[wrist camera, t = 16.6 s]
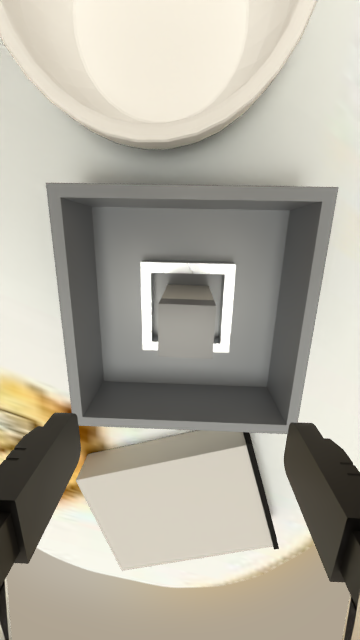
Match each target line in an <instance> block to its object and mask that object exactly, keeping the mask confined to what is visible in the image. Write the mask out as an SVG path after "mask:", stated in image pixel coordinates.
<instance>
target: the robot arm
mask: <svg viewBox="0 0 360 640" xmlns="http://www.w3.org/2000/svg"><path fill="white" fill-rule="evenodd" d="M80 451H81V445H80V436H79V426H78V418H77V415H76V414H75V413H54V414H53V415H52V416H51V417H50V419H49V420H48V421H47V423H46V424H45V425H44V426H43V427H40V426H38V427H36V428H35V429H34V430H32V431H31V432H29V433H28V434H26V435H25V436H24V437H23V438H22V439H21V441H20V442H19V443H18V444H17V445H16V447H15V449H14V450H12V451H11V453H10V454H9V455H8V456H7V457H6V460H4V461H3V462H2V463H1V465H0V640H11V628H10V627H11V626H10V614H9V602H8V589H7V580H6V576H7V575H8V573H9V571H10V569H11V567H12V565H13V563H26V564H28V563H29V561H30V559H31V557H32V555H33V553H34V551H35V549H36V547H37V545H38V543H39V541H40V539H41V537H42V535H43V533H44V531H45V529H46V527H47V525H48V523H49V521H50V519H51V517H52V515H53V513H54V511H55V509H56V507H57V505H58V503H59V501H60V499H61V497H62V495H63V493H64V490H65V488H66V486H67V484H68V482H69V480H70V478H71V476H72V474H73V472H74V470H75V468H76V466H77V464H78V461H79V457H80ZM284 466H285V471H286V475H287V477H288V480H289V482H290V485H291V487H292V489H293V492H294V494H295V497H296V499H297V502H298V504H299V507H300V509H301V512H302V514H303V517H304V519H305V521H306V524H307V526H308V529H309V531H310V534H311V536H312V539H313V541H314V544H315V546H316V549H317V551H318V553H319V556H320V558H321V561H322V563H323V566H324V568H325V571H326V573H327V576H328V578H329V580H330V581H331V582H345V583H346V585H347V588H348V590H349V592H350V594H351V595H350V598H349V602H348V608H347V614H346V619H345V626H344V631H343V637H342V640H360V472H359V471H358V469H357V468H356V467H355V466H354V465H353V462H352V461H351V460H350V458H349V457H348V455H347V454H346V453H345V451H344V450H343V449H342V448H341V447H339V446H338V445H337V444H336V443H334V442H333V441H332V440H331V439H324V438H323V437H322V435H321V434H320V432H319V431H318V429H317V428H316V426H315V425H314V424H313V423H294V422H292V423H290V425H289V429H288V435H287V441H286V447H285V453H284Z"/></svg>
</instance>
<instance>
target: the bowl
mask: <svg viewBox="0 0 360 640" xmlns="http://www.w3.org/2000/svg"><path fill="white" fill-rule="evenodd" d="M317 1H318V0H0V36H1V38H2V41H3V43H4V44H5V46H6V47H7V49H8V50H9V52H10V53H11V55H12V56H13V58H14V59H15V60H16V62H17V63H18V65H19V66H20V68H21V69H22V71H23V72H24V74H25V75H26V76H27V77H28V79H29V80H30V81H31V82H32V83H33V84H34V85H35V86H36V87H37V88H38V89H39V90H40V91H41V92H42V93H43V94H44V95H45V97H46V98H47V99H48V100H49V101H50V102H51V103H53V104H54V105H55V106H57V107H58V108H59V109H61V110H62V111H64V112H65V113H66V114H68V115H69V116H70V117H72V118H73V119H75V120H76V121H77V122H79V123H80V124H82V125H83V126H84V127H86V128H87V129H89V130H90V131H92V132H94V133H96V134H98V135H100V136H102V137H104V138H106V139H109V140H111V141H113V142H115V143H118V144H122V145H127V146H131V147H136V148H140V149H172V148H176V147H180V146H185V145H189V144H193V143H196V142H199V141H201V140H203V139H205V138H207V137H209V136H211V135H213V134H215V133H217V132H220V131H221V130H223V129H224V128H225V127H227V126H228V125H229V124H231V123H232V122H233V121H235V120H236V119H237V118H239V117H240V116H241V115H243V114H244V113H245V112H246V111H247V110H248V109H249V107H250V106H251V105H252V104H253V103H254V102H255V101H256V100H257V99H258V98H259V97H260V95H261V94H262V93H263V92H264V91H265V90H266V89H267V87H268V86H269V85H270V84H271V82H272V81H273V80H274V78H275V77H276V76H277V74H278V73H279V72H280V70H281V69H282V67H283V65H284V64H285V62H286V61H287V59H288V58H289V56H290V54H291V53H292V51H293V50H294V48H295V47H296V45H297V44H298V42H299V40H300V39H301V37H302V35H303V33H304V30H305V28H306V26H307V24H308V21H309V19H310V17H311V14H312V12H313V10H314V8H315V5H316V3H317Z"/></svg>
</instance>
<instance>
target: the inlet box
mask: <svg viewBox="0 0 360 640" xmlns="http://www.w3.org/2000/svg"><path fill="white" fill-rule="evenodd" d="M46 188H47V197H48V205H49V214H50V223H51V232H52V241H53V249H54V258H55V267H56V276H57V285H58V293H59V302H60V311H61V320H62V329H63V337H64V346H65V355H66V364H67V373H68V381H69V390H70V399H71V408H72V413H75V414H76V415H77V418H78V425H80V426H104V427H129V428H154V429H178V430H203V431H228V432H252V433H277V434H288V429H289V425H290V423H292V422H294V423H298V417H299V411H300V405H301V400H302V394H303V388H304V382H305V377H306V371H307V365H308V359H309V353H310V348H311V342H312V336H313V330H314V325H315V319H316V313H317V307H318V302H319V296H320V290H321V284H322V279H323V273H324V267H325V261H326V256H327V250H328V244H329V238H330V233H331V227H332V221H333V215H334V210H335V204H336V198H337V192H338V187H290V186H223V185H157V184H91V183H46ZM167 285H196V286H209V288H210V291H211V293H212V296H213V299H214V301H215V304H216V317H215V331H214V345H213V359H200V358H177V357H158V304H159V302H160V299H161V297H162V295H163V293H164V291H165V289H166V287H167Z"/></svg>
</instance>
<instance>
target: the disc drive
mask: <svg viewBox="0 0 360 640" xmlns="http://www.w3.org/2000/svg"><path fill="white" fill-rule="evenodd" d="M76 482H77V483H78V485H79V487H80V489H81V491H82V493H83V495H84V497H85V499H86V501H87V503H88V505H89V507H90V509H91V511H92V513H93V515H94V517H95V519H96V521H97V523H98V525H99V527H100V529H101V531H102V533H103V535H104V537H105V538H106V540H107V542H108V544H109V546H110V548H111V550H112V552H113V554H114V556H115V558H116V560H117V562H118V564H119V566H120V568H121V570H122V571H123V570H129V569H135V568H142V567H148V566H154V565H160V564H167V563H173V562H179V561H185V560H191V559H198V558H204V557H210V556H216V555H223V554H229V553H235V552H241V551H247V550H254V549H260V548H266V547H272V546H273V547H274V549H279V547H278V543H277V538H276V534H275V530H274V527H273V523H272V519H271V515H270V511H269V507H268V503H267V500H266V496H265V492H264V488H263V484H262V480H261V476H260V473H259V469H258V465H257V461H256V457H255V453H254V449H253V445H252V442H251V439H250V434H249V432H228V431H203V430H197V431H192V432H188V433H183V434H178V435H174V436H169V437H165V438H160V439H155V440H151V441H146V442H142V443H137V444H132V445H128V446H123V447H119V448H114V449H109V450H105V451H100V452H96V453H91V454H88V455H87V457H86V460H85V462H84V464H83V466H82V468H81V470H80V473H79V475H78V477H77V479H76Z"/></svg>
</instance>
